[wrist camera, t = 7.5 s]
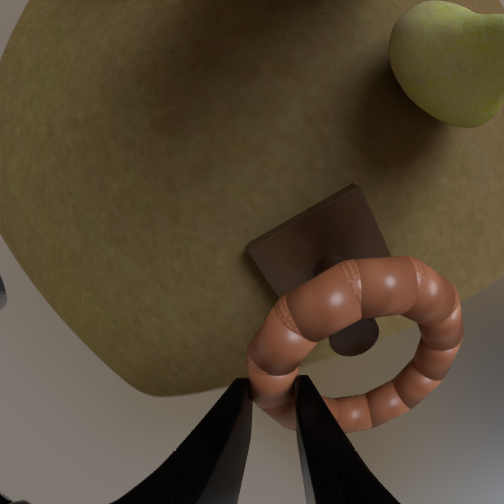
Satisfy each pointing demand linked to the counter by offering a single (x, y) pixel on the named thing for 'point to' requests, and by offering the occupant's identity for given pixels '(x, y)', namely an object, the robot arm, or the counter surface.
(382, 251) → the post
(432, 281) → the ring
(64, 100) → the counter surface
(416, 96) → the fruit
